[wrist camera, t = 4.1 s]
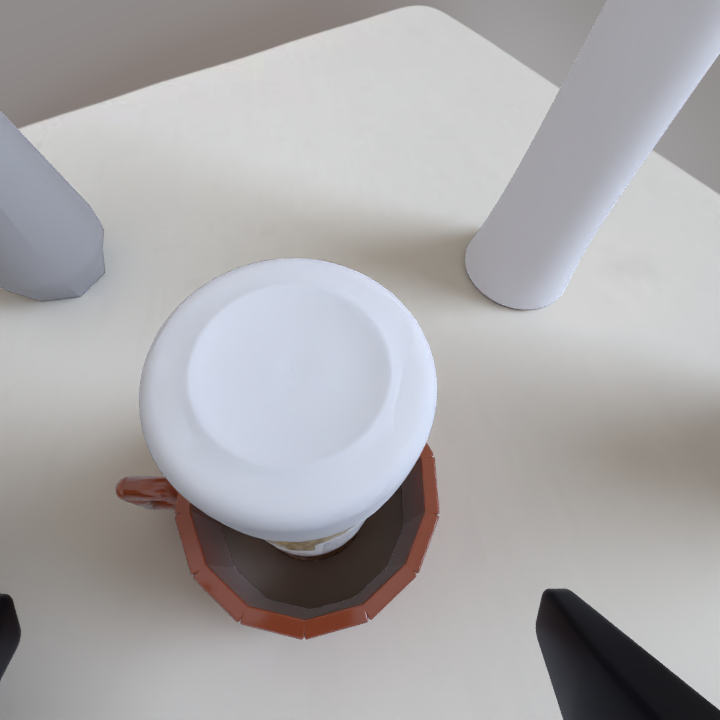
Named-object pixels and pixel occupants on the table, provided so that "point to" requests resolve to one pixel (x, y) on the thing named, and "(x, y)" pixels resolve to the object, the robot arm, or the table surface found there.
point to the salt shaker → (43, 226)
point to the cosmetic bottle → (592, 145)
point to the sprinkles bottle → (289, 401)
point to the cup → (257, 611)
